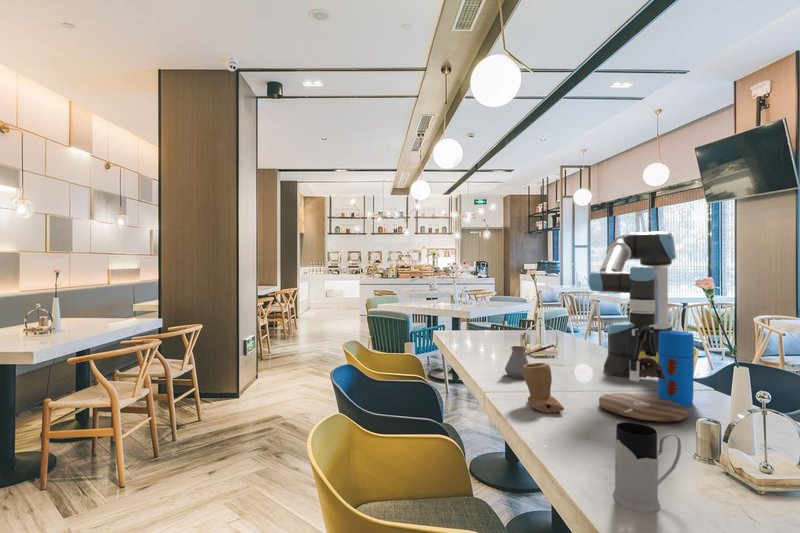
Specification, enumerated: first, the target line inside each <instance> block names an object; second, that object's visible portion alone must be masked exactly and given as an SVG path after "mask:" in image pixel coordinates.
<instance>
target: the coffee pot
mask: <svg viewBox="0 0 800 533" xmlns="http://www.w3.org/2000/svg"><path fill="white" fill-rule="evenodd" d="M510 348H511V350H512V351H511V354H510V356H509V359H508V361H507V363H506V366H505V367H504V370H505V373H506V374H507V375H508V376H509V377H511V378H514V379H524V375H523V366H524V365H526V364H530V363H529V360H528V357H527V356H529V355H532V354H535V353H539V352H542V351H545V350H548V349H551V348H554V349H556V347H555V344H551V345H548V346H542V347H540V348H538V349H536V350H533V351H530V352H526V353H525V350H526V349H527V348H526V346H522V345H521V346H520V345H513V346H512V345H511V347H510Z"/></svg>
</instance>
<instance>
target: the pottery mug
mask: <svg viewBox="0 0 800 533" xmlns="http://www.w3.org/2000/svg"><path fill="white" fill-rule="evenodd" d="M638 361H639V378H647V377H648V378H649V377H650V378H657V379H658V378H662V379H663V380H664V381H665V375H664V374H663V372H662V367H661V365H660V364H658V362H657V360H655V359H654V358H653V359H652V358H644V357H639V358H638ZM648 363H650V365H648Z"/></svg>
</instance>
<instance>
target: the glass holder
mask: <svg viewBox="0 0 800 533" xmlns="http://www.w3.org/2000/svg"><path fill="white" fill-rule="evenodd" d="M615 433H616V434H615V442H614V443H615V444H614V446H615V448H614V457H615V458H614V491H613V492H612V499H613V500H614V501H615V502H616V503H617V504H618V505H620V506H622V507H623V508H625V509H629V510H631V511H635V512H639V513H655V512H657V511H659V510H660V509H661V504H660V501H659V498H658V496H659V493H658V492H659V490H658V489H659V485H660V484H662V482H663V481H664V480H665V479H666V478H667V477H669V475H671V473H672V472H673V471H674V470H675V469H676V467H677V464H679V460H680V456H681V454H682V441H681V438H680V437H679V436H678V435H676V434H675V433H671V432H668V433H665V434H663V435H662V436H661V437H660V441H659V449H658V430H656V429H655V428H654V427H651V426H649V425H646V424H642V423H637V422H631V421H630V422H629V421H628V422H624V421H623V422H619V423H617V424H616V425H615ZM670 436H673V437H675V438H676V441H677V442H676V443H677V451H676V455H675V457H674V461H673V462H672V464H671V466H670V467H669V468H668V470H667V471H666V472H665V473H664V474H663V475H662V476H661V477H659V455H661V454H662V453H663V449H664V442H665V441H666V439H667V438H668V437H670Z"/></svg>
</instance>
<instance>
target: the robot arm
mask: <svg viewBox="0 0 800 533" xmlns="http://www.w3.org/2000/svg"><path fill="white" fill-rule="evenodd" d="M605 252H606V253H605V254H606V256H605V258H604V260H603V262H602V265H601V267H600V269H599V270H598V271H597V270H596V271H591V272H590V273H589V274H588V275H589V276H588V287H589V289H590V291H592V292H599V293H629V301H628V305H629V310H630V313H629V318H628V319H629V321H620V322H612V323H611V324H609V325H608V328H607V356H606V359H605V362H604V364H603V372H604V373H606V374H607V375H612V376H616V377H625V378H626V377H628V378H629V381H635V382H640V377H639V361H638V359H640V353H644V354H645V355H644V356H643V358H652V359H654V357H655V358H656V357H657V355H658V350H659V331H677V329H676V328H674V327H673V324H672V323H671V321H669V303H668V302H669V301H668V296H669V292H668V290H669V289H668V288H669V287H668V286H669V284H668V283H669V282H668V281H669V280H668V277H669V276H668V274H669V272H668V268H669V267H670V266H671V265H672V264H673V263H672V262H673V261H674V260H676V259H677V258H676V255H677V254H676V246H675V239H674V236H673V234H672V232H669V231H647V232H642V231H641V232H629V233H625V234H622V235H620V236H618V237H617V238H615V239H613V240H612V241H611V242H610V243H609V244H608V246H607V248H606V251H605ZM628 260H639V262H640V265H641V266H636V265H635V266H632V267H630V269H629V271H623V270H624V267H625V264H626V262H627V261H628ZM648 365H650V363H648Z"/></svg>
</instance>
